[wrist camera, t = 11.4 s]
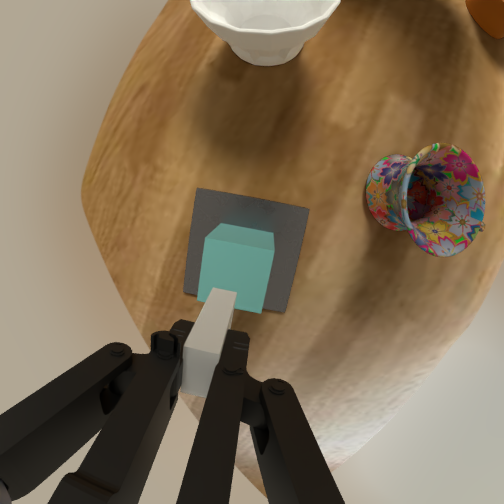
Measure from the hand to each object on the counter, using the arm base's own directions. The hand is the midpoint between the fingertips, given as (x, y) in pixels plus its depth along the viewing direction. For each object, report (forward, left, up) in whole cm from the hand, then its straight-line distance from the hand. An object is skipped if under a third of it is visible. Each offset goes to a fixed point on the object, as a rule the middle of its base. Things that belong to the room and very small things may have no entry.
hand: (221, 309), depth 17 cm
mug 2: (-47, +33, -14) cm, 59 cm away
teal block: (0, 0, -14) cm, 14 cm away
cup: (-25, -2, -14) cm, 29 cm away
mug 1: (-10, +17, -14) cm, 24 cm away
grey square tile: (0, 0, -14) cm, 14 cm away
